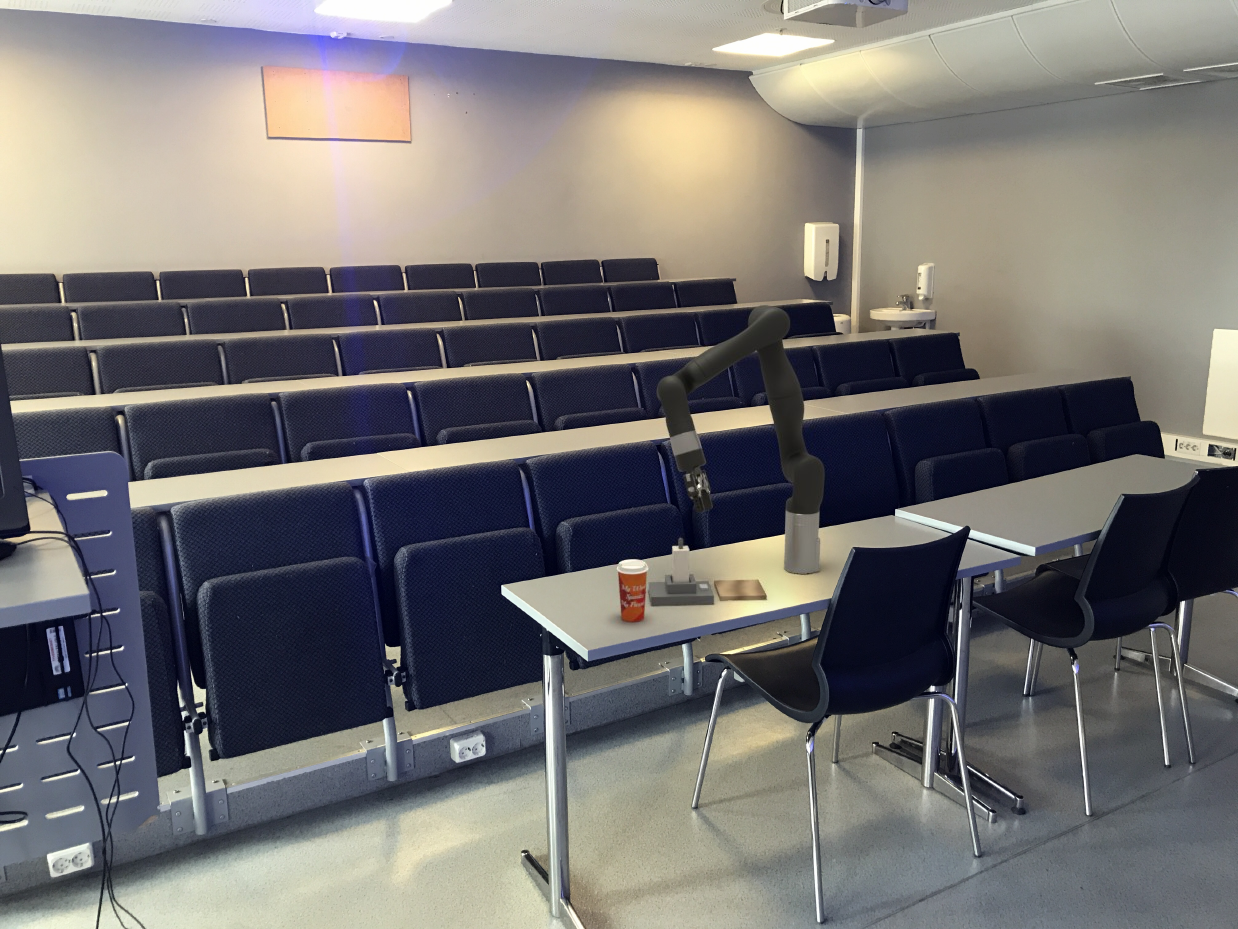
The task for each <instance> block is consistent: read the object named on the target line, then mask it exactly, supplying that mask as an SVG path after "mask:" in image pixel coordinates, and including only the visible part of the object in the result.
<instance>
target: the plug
mask: <svg viewBox="0 0 1238 929" xmlns="http://www.w3.org/2000/svg"><path fill="white" fill-rule="evenodd" d="M677 541H678V543H677V544H678V545H672V547H671V548H672V549H671V552H672V553H671V556H672V557H671V558H672V559H671V561H672V563H671V565H672V566H671V575H672V583H686V582H689V574H690V548H689V546H688V545H684V539H683V537H679V538H678V540H677Z"/></svg>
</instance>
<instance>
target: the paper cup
mask: <svg viewBox="0 0 1238 929" xmlns="http://www.w3.org/2000/svg"><path fill="white" fill-rule="evenodd" d="M617 564H618V565H617V567H616V571H617V573H618V575H617V577H618V589H619V590H618V592H619V602H620V605H619V606H620V615H621V620H623V621H625V622H629V623H637V622H640V621H641V622H642V621H643V620H644V619H645V610H646V593H647V575H648V570H649V569H650V568H649V566H648V564H647V563H646V562H645V561H643V560H641V559H635V558H634V559H625V560H621V561H620V562H619V563H617Z"/></svg>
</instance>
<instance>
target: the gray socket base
mask: <svg viewBox="0 0 1238 929" xmlns="http://www.w3.org/2000/svg"><path fill="white" fill-rule="evenodd" d="M664 579H665V580H664V581H649V582H648V595H649V600H650V605H651V606H652V607H660V606H661V607H662V606H663V607H664V606H665V607H666V606H702V605H703V606H707V605H711V606H712V605H714V604H715V594H714V592H713V589H712V586H711V584H710V580H696V579H695V576H694V574H693V573H689V582H686V583H672V574H665V575H664ZM651 606H650V607H651Z"/></svg>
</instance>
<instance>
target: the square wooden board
mask: <svg viewBox="0 0 1238 929" xmlns="http://www.w3.org/2000/svg"><path fill="white" fill-rule="evenodd" d="M713 584H714V588H715V591H716V593H717V596H718V598H719V601H720V602H723V601H728V600H732V601H761V600H762V601H767V600H768V596H767V593H766V591H765V589H764V588H763V585H762V584H761V581H760V580H759V578H758V579H721V580H720V579H718V580H715V579H714V580H713Z"/></svg>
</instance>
